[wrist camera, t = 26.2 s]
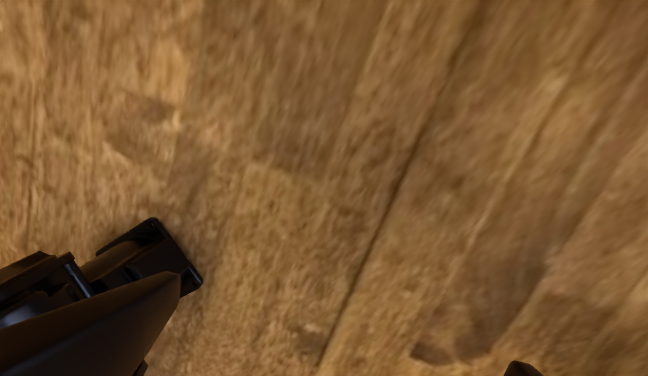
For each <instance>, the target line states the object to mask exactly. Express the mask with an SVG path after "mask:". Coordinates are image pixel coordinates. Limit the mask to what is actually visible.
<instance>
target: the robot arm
mask: <svg viewBox="0 0 648 376" xmlns="http://www.w3.org/2000/svg"><path fill="white" fill-rule="evenodd" d="M151 223H152V224H153V226H152V225H151ZM74 259H75V258H74V256H73V255H72V253H71V252H70V251H69V252H67V253H65V254H62V255H60V256H58V257H56V256H55V255H48V254H46V253H44V252H41V251H38V252H36V253H33V254H31V255H29V256H27V257H25V258H23V259H21V260H19V261H17V262H14V263H12V264H10V265H8V266H6V267H4V268H2V269H0V376H143V375H144V373H145V371H146V369H147V367H148V364H147V363H146V361H145V360H144V358H145V356H146V355H147V353H148V352H149V350H150V349H151V347H152V346H153V344H154V342H155V341H156V339H157V338H158V336H159V335H160V333H161V331H162V330H163V328H164V327H165V325H166V324H167V322H168V320H169V319H170V317H171V316H172V314H173V312H174V311H175V309H176V308H177V305H178V303H179V298H181V297H183V296H185V295H187V294H189V293H191V292H193V291H195V290H197V289H198V288H200V287H201V285H202V284H203V279H202V277H201V276H200V275H199V273H198V272H197V271H196V269H195V268H194V267H193V265H192V264H191V263H190V261H189V260H188V259H187V258H186V256H185V255H184V254H183V252H182V251H181V250H180V248H179V247H178V246H177V244H176V243H175V242H174V240H173V239H172V238H171V236H170V235H169V234H168V232H167V231H166V230H165V228H164V227H163V226H162V224H161V223H160V222H159V220H158V219H156V218H154V217H151V218H149V219H147V220H145V221H144V222H142V223H141V224H139V225H138V226H136V227H134V228H133V229H131V230H130V231H128V232H127V233H125V234H123V235H122V236H120V237H119V238H117V239H116V240H114V241H112V242H111V243H109V244H108V245H106V246H105V247H103V248H101V249H100V250H98V251H97V252H96V257H95V258H94V259H92V260H90V261H89V262H87V263H85V264H84V265H82V266H80V267H78V266H77V264H76V263H75V261H74ZM195 281H196V282H197V283H196V282H195ZM504 376H544V375H542V374H541V373H540V372H539V371H538V370H537V369H535V368H534V367H533V366H532V365H530V364H527V363H524V362H520V361H512V362H510V364H509V366H508V368H507V370H506V372H505V374H504Z"/></svg>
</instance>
